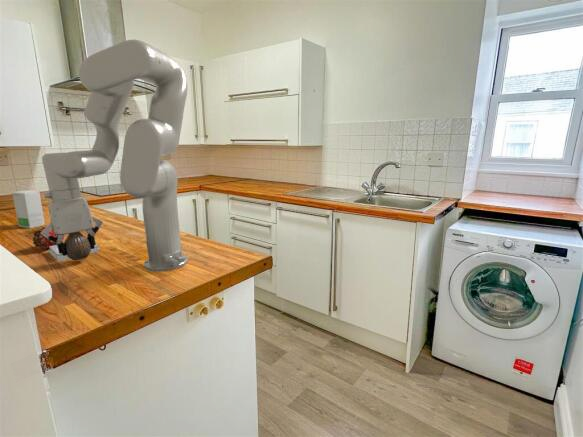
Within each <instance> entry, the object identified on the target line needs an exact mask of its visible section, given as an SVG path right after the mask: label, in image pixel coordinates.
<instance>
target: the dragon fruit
mask: <svg viewBox="0 0 583 437" xmlns="http://www.w3.org/2000/svg"><path fill="white" fill-rule="evenodd" d="M46 227H47V226H45V227H43V228H41V229H38V230H36V231H33V238H32V243H33V245H34V246H35V247H37V248H40V247H42V248H43V250H48V251H49V249H50V248H49V246H54V245H57V243H56V242H53V241H51V240H50V239H48V238H46V237H44V236H43V235H41V232H42V231H43V230H44V229H45V228H46ZM49 234H50V235H52V236H54V237H56V235H57V234H56V233H55V232H53V230H52V229H51V231H50V232H49ZM64 239H65V236H64V237H63V239H62V242H63V240H64Z"/></svg>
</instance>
